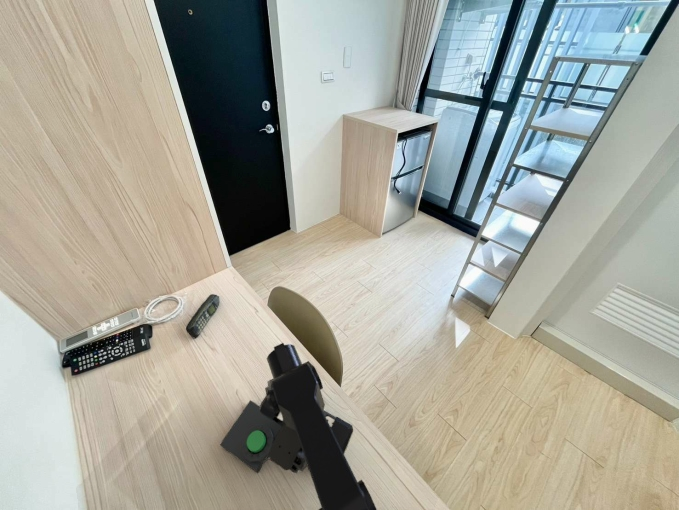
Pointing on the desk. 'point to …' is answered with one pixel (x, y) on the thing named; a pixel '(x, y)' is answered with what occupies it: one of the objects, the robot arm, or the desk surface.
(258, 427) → the button block
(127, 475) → the desk surface
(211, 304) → the mobile phone
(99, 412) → the desk surface
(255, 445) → the button
